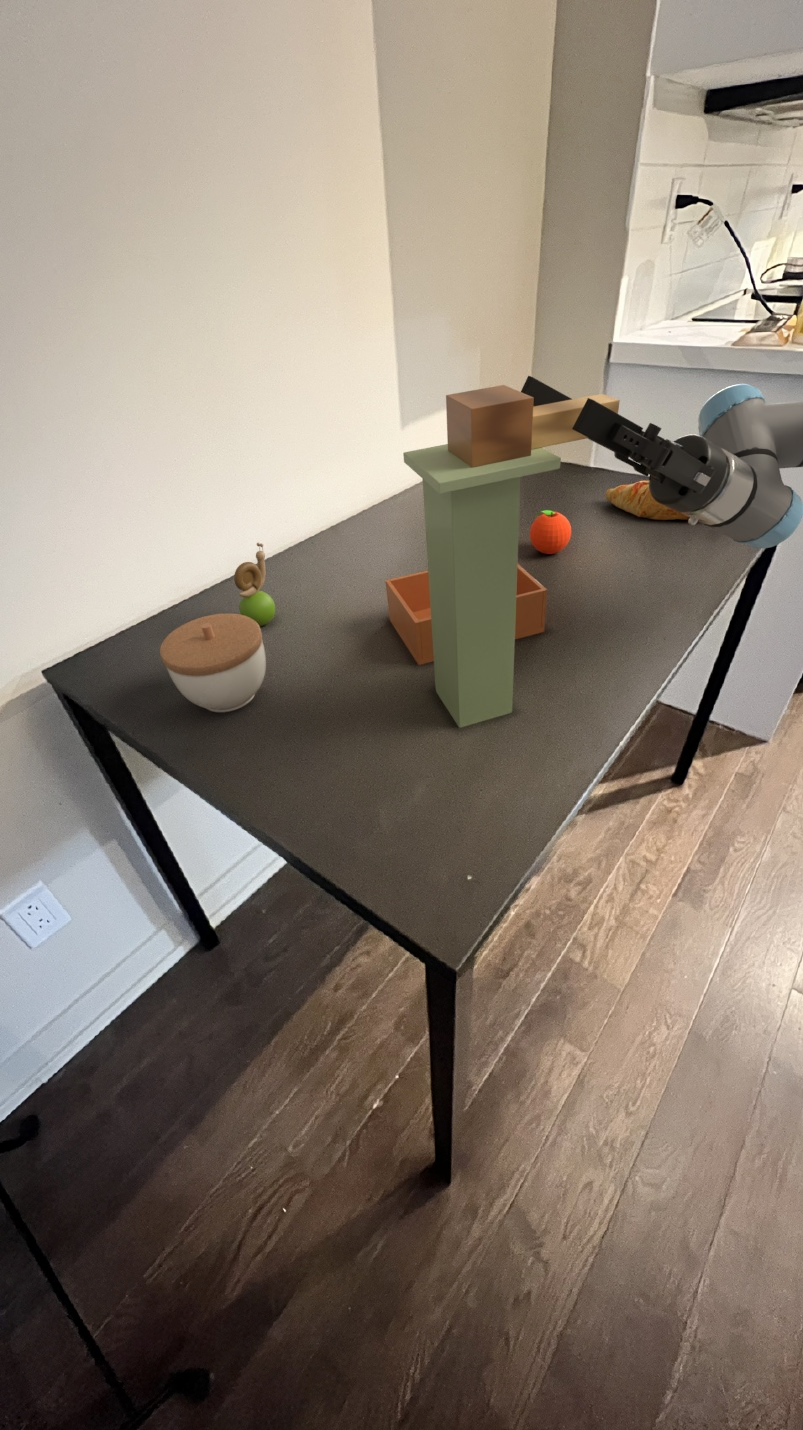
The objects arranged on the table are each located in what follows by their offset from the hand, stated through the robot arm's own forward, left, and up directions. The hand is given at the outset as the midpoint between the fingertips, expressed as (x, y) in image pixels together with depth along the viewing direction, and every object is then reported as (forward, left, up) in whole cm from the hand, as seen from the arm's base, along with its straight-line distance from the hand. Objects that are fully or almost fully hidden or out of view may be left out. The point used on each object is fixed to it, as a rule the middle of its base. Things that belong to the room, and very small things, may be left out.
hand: (550, 401), depth 59 cm
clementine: (+16, -36, -34) cm, 52 cm away
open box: (+15, -8, -34) cm, 38 cm away
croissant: (+5, -60, -34) cm, 69 cm away
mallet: (+1, +1, -4) cm, 4 cm away
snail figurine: (+44, +6, -34) cm, 56 cm away
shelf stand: (+4, +5, -34) cm, 34 cm away
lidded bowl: (+34, +22, -34) cm, 53 cm away
